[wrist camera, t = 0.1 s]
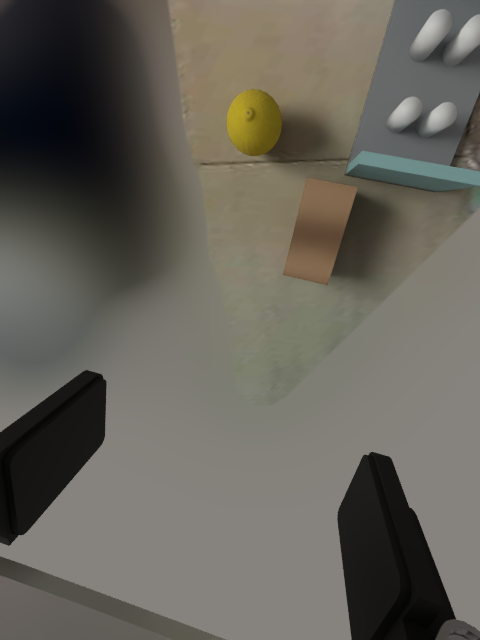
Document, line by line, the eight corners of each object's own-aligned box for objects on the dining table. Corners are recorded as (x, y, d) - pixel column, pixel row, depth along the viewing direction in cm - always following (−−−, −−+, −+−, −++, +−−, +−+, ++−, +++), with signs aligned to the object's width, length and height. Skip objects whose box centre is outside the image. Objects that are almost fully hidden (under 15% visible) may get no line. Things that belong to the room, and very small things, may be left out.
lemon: (293, 134, 34) (291, 113, 26) (256, 171, 36) (245, 161, 28) (262, 92, 33) (251, 58, 25) (226, 133, 35) (206, 112, 27)
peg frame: (402, -26, 28) (445, -126, 19) (517, -13, 27) (615, -113, 18) (344, 175, 34) (358, 163, 26) (435, 192, 33) (480, 186, 25)
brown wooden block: (306, 182, 35) (307, 177, 30) (348, 190, 35) (358, 187, 29) (285, 265, 39) (282, 274, 33) (323, 274, 38) (327, 285, 33)
